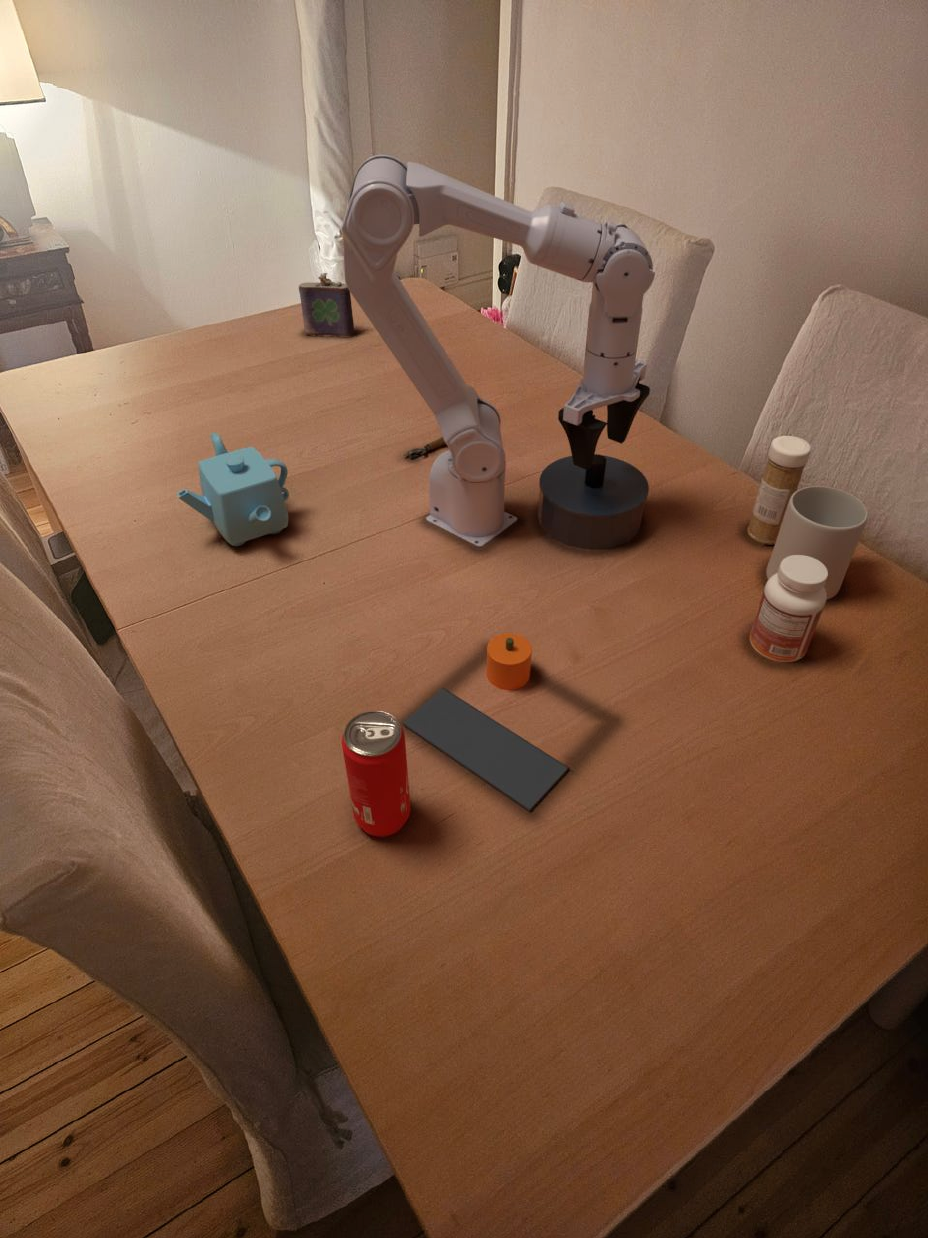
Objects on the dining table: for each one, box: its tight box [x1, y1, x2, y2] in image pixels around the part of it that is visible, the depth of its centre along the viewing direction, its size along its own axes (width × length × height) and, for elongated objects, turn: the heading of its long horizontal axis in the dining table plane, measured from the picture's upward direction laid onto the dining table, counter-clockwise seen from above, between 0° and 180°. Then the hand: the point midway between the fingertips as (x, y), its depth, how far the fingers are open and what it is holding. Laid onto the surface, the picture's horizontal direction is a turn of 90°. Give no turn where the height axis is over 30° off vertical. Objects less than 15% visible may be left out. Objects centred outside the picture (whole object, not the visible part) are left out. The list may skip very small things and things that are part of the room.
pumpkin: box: [486, 632, 533, 691], centre depth 86 cm, size 5×5×5 cm
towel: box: [402, 687, 570, 812], centre depth 83 cm, size 16×14×1 cm
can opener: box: [403, 436, 447, 459], centre depth 121 cm, size 9×2×1 cm, turn 123°
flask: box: [298, 272, 355, 338], centre depth 147 cm, size 9×3×11 cm, turn 84°
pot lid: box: [538, 453, 650, 518], centre depth 103 cm, size 14×14×5 cm
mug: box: [765, 485, 869, 601], centre depth 96 cm, size 12×8×11 cm
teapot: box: [175, 432, 290, 547], centre depth 104 cm, size 18×14×10 cm
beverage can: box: [341, 710, 411, 838], centre depth 71 cm, size 5×5×12 cm
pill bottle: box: [749, 555, 828, 663], centre depth 87 cm, size 6×6×11 cm
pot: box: [537, 489, 645, 551], centre depth 106 cm, size 13×13×6 cm
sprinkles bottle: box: [746, 435, 812, 546], centre depth 101 cm, size 5×5×13 cm
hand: (599, 452), depth 101 cm, fingers open, 7 cm apart
